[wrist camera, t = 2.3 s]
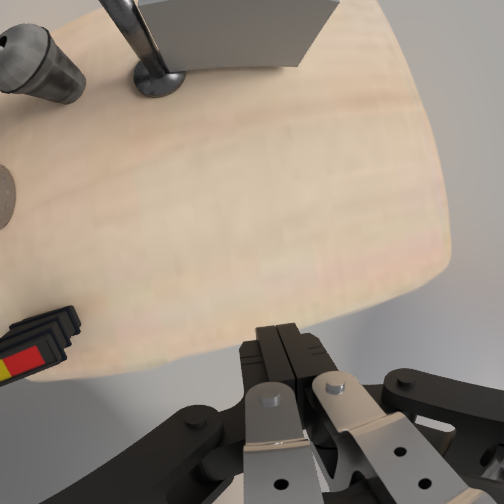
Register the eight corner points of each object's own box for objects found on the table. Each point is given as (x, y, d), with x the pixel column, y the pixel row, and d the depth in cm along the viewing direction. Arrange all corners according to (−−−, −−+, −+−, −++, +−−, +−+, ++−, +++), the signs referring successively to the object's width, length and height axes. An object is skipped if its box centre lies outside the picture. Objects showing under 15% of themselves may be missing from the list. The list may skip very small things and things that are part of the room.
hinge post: (135, 101, 29) (64, 36, 12) (136, 57, 28) (79, -24, 11) (186, 93, 29) (152, 12, 12) (186, 49, 28) (159, -45, 11)
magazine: (4, 324, 31) (-28, 364, 18) (74, 295, 37) (63, 325, 24) (15, 347, 32) (-11, 394, 19) (84, 318, 38) (80, 358, 25)
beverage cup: (79, 52, 26) (-7, -19, 7) (105, 83, 28) (11, 7, 8) (40, 93, 27) (-62, 50, 7) (64, 126, 28) (-52, 91, 9)
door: (170, 72, 27) (137, 6, 14) (170, 54, 27) (140, -16, 13) (297, 66, 28) (339, 2, 15) (295, 49, 28) (334, -20, 14)
